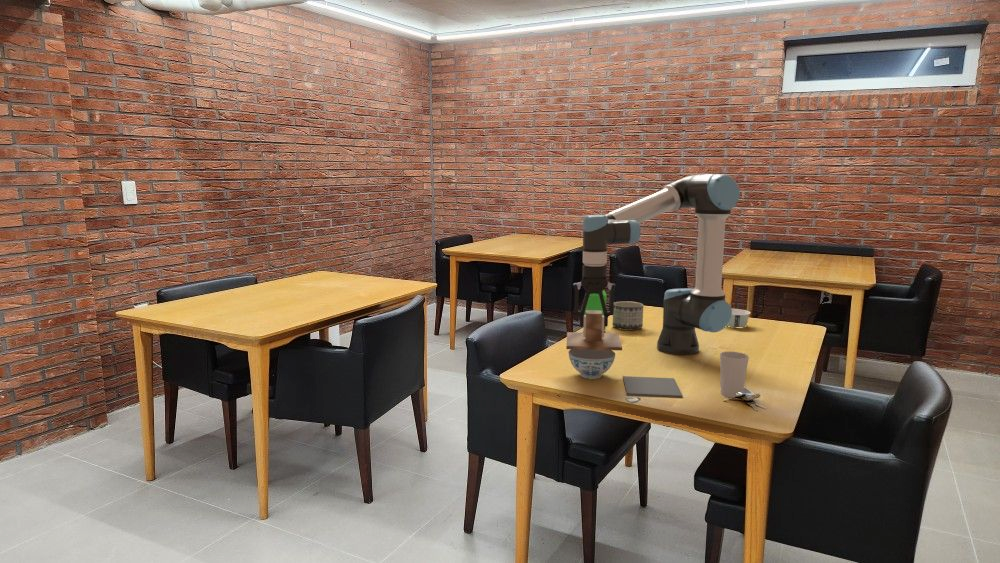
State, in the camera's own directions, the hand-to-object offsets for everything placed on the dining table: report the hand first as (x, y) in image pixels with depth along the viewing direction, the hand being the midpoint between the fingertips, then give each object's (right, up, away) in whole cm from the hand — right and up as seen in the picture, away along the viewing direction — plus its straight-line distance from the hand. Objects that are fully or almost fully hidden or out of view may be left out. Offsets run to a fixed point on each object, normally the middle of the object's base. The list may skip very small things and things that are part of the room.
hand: (593, 335), depth 196 cm
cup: (+39, -16, -15) cm, 45 cm away
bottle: (+10, -3, +61) cm, 62 cm away
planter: (+25, -3, +67) cm, 71 cm away
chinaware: (0, -13, +2) cm, 13 cm away
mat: (+16, -15, -9) cm, 24 cm away
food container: (+73, -2, +71) cm, 101 cm away
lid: (0, -2, 0) cm, 2 cm away
